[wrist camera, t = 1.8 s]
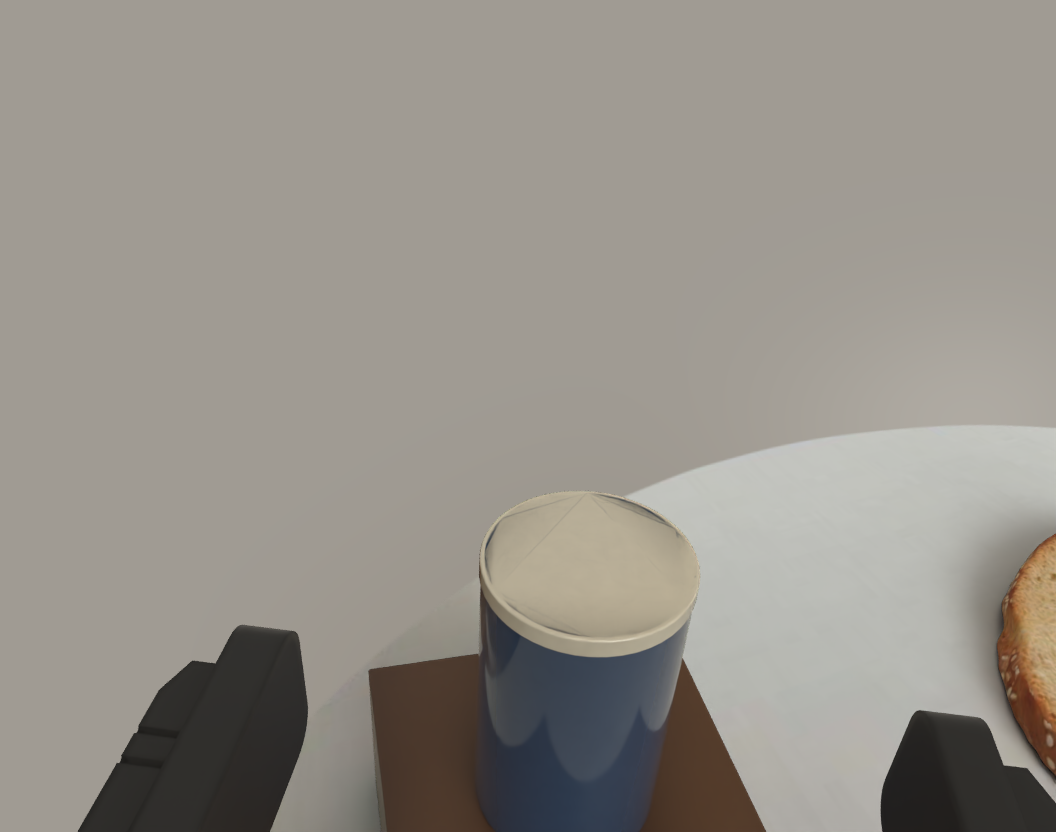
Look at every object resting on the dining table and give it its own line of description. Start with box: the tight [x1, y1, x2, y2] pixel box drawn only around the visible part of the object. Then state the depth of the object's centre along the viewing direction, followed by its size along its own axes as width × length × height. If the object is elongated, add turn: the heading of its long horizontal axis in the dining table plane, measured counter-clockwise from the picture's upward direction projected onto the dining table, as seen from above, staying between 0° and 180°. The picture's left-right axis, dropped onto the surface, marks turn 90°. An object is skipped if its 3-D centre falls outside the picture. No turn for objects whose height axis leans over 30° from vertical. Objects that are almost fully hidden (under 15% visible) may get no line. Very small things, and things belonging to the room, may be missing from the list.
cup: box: [475, 491, 700, 832], centre depth 28 cm, size 6×6×10 cm
